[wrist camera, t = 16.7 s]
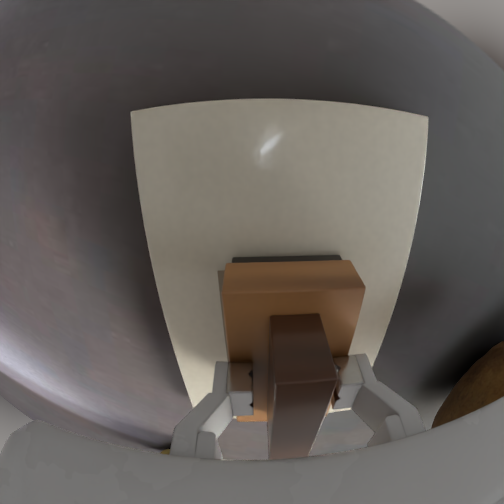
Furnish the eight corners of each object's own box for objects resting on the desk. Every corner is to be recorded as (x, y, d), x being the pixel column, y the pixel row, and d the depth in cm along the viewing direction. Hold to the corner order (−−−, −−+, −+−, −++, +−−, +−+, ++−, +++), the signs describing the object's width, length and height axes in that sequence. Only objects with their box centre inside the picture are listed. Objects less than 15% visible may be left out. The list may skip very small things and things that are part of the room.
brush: (226, 252, 12) (211, 361, 7) (344, 249, 12) (399, 348, 7) (238, 383, 16) (235, 469, 11) (319, 379, 16) (335, 462, 11)
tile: (142, 110, 10) (128, 111, 9) (412, 114, 10) (430, 116, 9) (198, 401, 20) (195, 418, 18) (349, 394, 20) (353, 410, 18)
